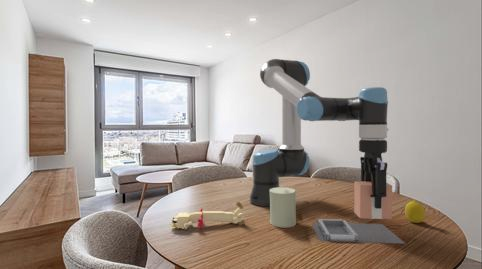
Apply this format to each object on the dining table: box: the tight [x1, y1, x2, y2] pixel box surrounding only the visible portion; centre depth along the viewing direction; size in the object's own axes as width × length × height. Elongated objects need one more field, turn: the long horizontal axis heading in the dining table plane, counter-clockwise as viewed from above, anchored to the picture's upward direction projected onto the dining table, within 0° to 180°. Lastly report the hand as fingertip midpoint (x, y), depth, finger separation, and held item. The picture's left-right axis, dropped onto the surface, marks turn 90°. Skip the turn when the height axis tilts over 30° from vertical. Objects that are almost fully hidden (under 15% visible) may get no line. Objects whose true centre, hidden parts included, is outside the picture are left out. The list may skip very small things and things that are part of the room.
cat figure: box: [169, 200, 245, 230], centre depth 86 cm, size 10×9×25 cm
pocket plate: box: [311, 218, 406, 245], centre depth 76 cm, size 23×14×2 cm, turn 84°
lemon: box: [404, 200, 426, 224], centre depth 83 cm, size 6×6×8 cm
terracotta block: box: [353, 180, 393, 220], centre depth 75 cm, size 9×5×10 cm, turn 84°
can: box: [269, 186, 297, 229], centre depth 86 cm, size 9×9×12 cm
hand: (372, 214), depth 75 cm, fingers closed on terracotta block, 5 cm apart
